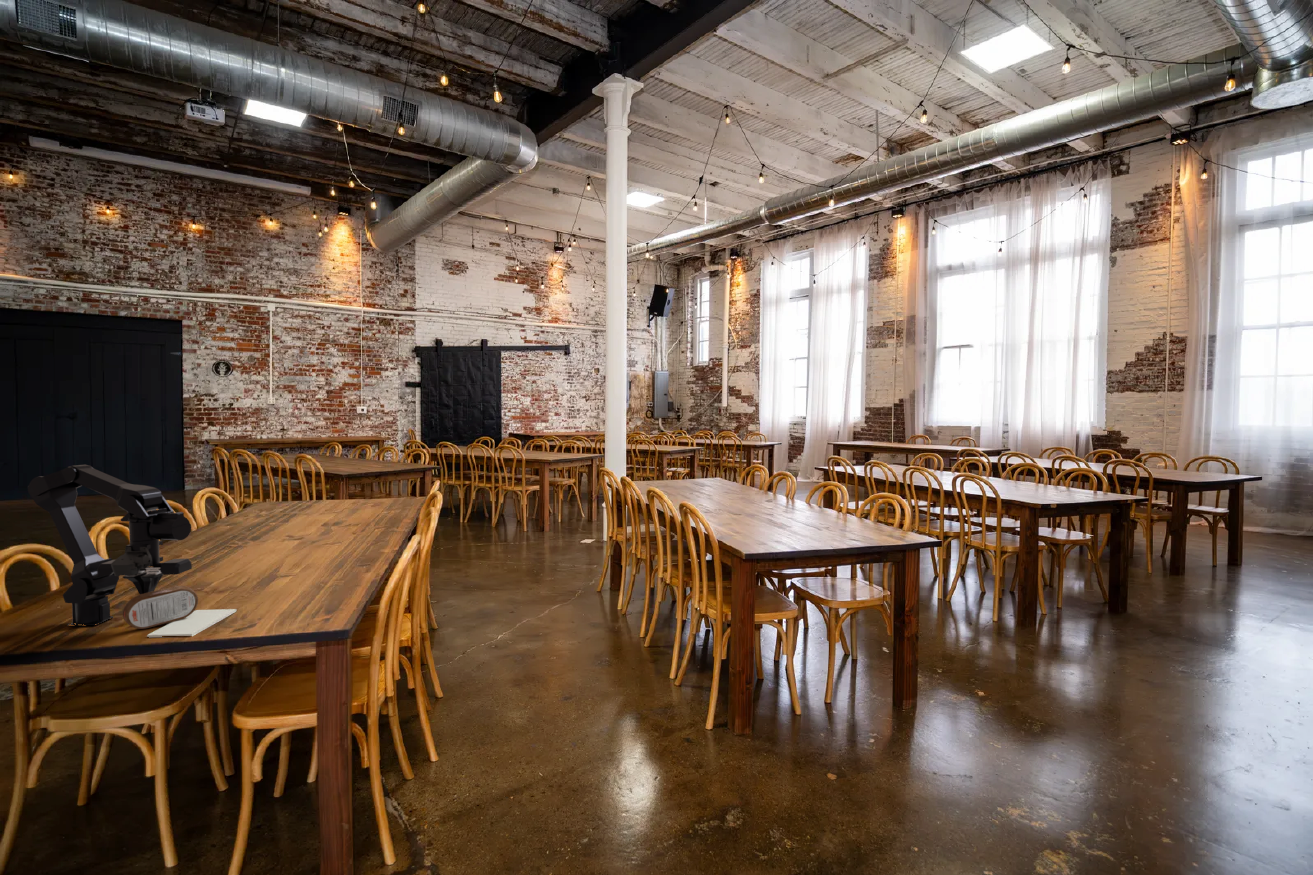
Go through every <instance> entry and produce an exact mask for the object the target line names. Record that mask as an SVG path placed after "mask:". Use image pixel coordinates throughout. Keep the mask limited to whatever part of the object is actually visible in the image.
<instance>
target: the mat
mask: <svg viewBox="0 0 1313 875" xmlns="http://www.w3.org/2000/svg"><path fill="white" fill-rule="evenodd" d="M236 612H237V608H234V609H233V608H232V609H231V608H229V609H224V608H223V609H222V608H221V609H195V611H194V612H193V613H192V614H191V615H189V616H188V617H186V618H183V619H180V620H176V621H172V622H169V623H167V624H166V625H164V626H162V627H160V628H158V629H156V630H154V631H153V632H150V633H148V634H147V635H146V638H147V637H149V638H163V637H162V636H192V637H194V636H195V635H197V634H199V633H201V632H202V631H204V630H206V629H208V628H210V627H212V626H213V625H214V624H215V625H216V624H217V623H218V622H220V621H222V620H224V619H226V618H227V617H229V616H230V615H233V614H234V613H236Z"/></svg>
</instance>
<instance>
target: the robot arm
mask: <svg viewBox="0 0 1313 875" xmlns="http://www.w3.org/2000/svg"><path fill="white" fill-rule="evenodd" d="M81 487H84V488H86V489H89V490H92V491H94V492H96V493H99V494H101V495H104V496H106V497H108V498H110V499H112V500H114V501H115V503H116V505H117V507H119V508H121V509H122V510H124V511H125V512H127V513H126V514H125V515H124V516H123V517H121V518H120V522H126V523H127V522H128V529H129V530H128V531H129V532H128V533H129V534H128V535H129V537H128V538H129V544H127V545H125V547H124V553H123V554H121V555H119V557H117V558H116V559H112V557H111V558H103V557H102V556H100V555H99V553H98V551H97V549H96V547H95V545H94V543H93V541H92V539H91V536H90V534H89V532H88V530H87V527H86V526H85V524H84V520H82V518H81V515H80V513H79V511H78V509H77V507H76V501H77V497H78V490H77V489H78V488H81ZM27 491H28V494H29V496H30V497H31V499H32V500H33V502H34V503H35V504H36V506H38V507H40V508H41V509H44V510H45V511H46V512H48V513H49V515H50V517H51V519H52V521H53V523H54V525H55V527H56V529H57V532H58V534H59V537H60V538H61V540H62V542H63V544H64V546H65V550H66V551H67V553H68V556H69V557H70V559H71V561H72V564H73V567H72V570H71V573H70V579H71V583H72V584H71V586H69V587H68V589H67V590H66V591H65V592H64V593H63V594H62V597H63V600H64V603H66V604H71V609H72V610H71V612H72V613H71V614H72V615H71V616H72V617H71V618H72V622H70V623H71V625H75V624H74V623H76V625H78V624H82V625H83V624H84V625H95V624H98V623H101V624H103V623H105V622H107V621H109V620H108V619H110V618H112V619H114V616H113V615H111V609H110V608H111V604H110V601H109V595H111V596H112V595H114V594H115V591H116V588H117V585H118V582H119V580H120V576H122V579H126V580H128V581H130V582H132V584H133V586H135V588H136V590H137V592H138V595H140V594H144V593H148V592H153V591H156V587H157V586H158V584H159V582H160V581H161V579H162V577H163V576H164V575H165V576H168V575H169V576H170V575H173V576H174V575H180V574H182V573H185V572H188V571H190V570H192V569H193V568H192V564H193V563H192V561H191V559H189V558H173V559H170V560H166V561H164V556H160V546H162V545H164V543H163V541H166V540H169V541H183V540H185V539H186V538H188V537H189V535H190V533H191V531H192V524H191V522H190V520H189V519H188V518H187V517H185V516H184V514H185V513H184V512H183V511H179V512H178V511H177V512H175V511H174V510H173V508H172V506H170V504H169V503H168V502H167V500H166V498H165V497H164V496H163V494H162V491H161V490H160V489H158V487H154V486H149V485H144V484H132V483H129V482H126V481H124V480H122V479H119V478H117V477H114V476H112V475H110V474H109V473H105V472H103V471H100V470H98V469H96V468H94V467H93V466H91V465H88V464H78V465H70V466H67V467H65V468H63V469H61V470H58V471H55V472H52V473H49V474H46V475H43V476H42V475H41V476H35V477H34V478H32V480H30V482H29V484H28V485H27ZM106 620H107V621H106ZM110 620H111V619H110ZM104 621H105V622H104ZM102 622H103V623H102ZM70 623H68V624H67V626H68V625H69V624H70ZM98 625H99V624H98Z"/></svg>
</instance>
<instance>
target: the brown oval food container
mask: <svg viewBox="0 0 1313 875" xmlns="http://www.w3.org/2000/svg"><path fill="white" fill-rule="evenodd" d="M198 604H199V597H198V594H197V593H196V591H195V590H194V589H193V588H191V587H189V586H187V585H176V586H175V585H174V586H171V587H166V588H163V589H157V590H154V591H153V592H148V593H144V594H137V595H135V596H133V597H132V598H131V599H130V600H128V601H127V602H126V603H125V605H124V607H123V610H122V617H123V618H122V619H123V620H124V622H125V623H126V624H128V625H129V626H130V627H132V628H134V629H139V630H140V629H141V630H142V629H143V630H144V629H150V628H152V627H157V626H161V625H164V624H169V623H172V622H174V621H176V620H180V619H183V618H186V617H188V616H189V615H191V614H192V613H193V612H194V611H195V610H197V607H198Z"/></svg>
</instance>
